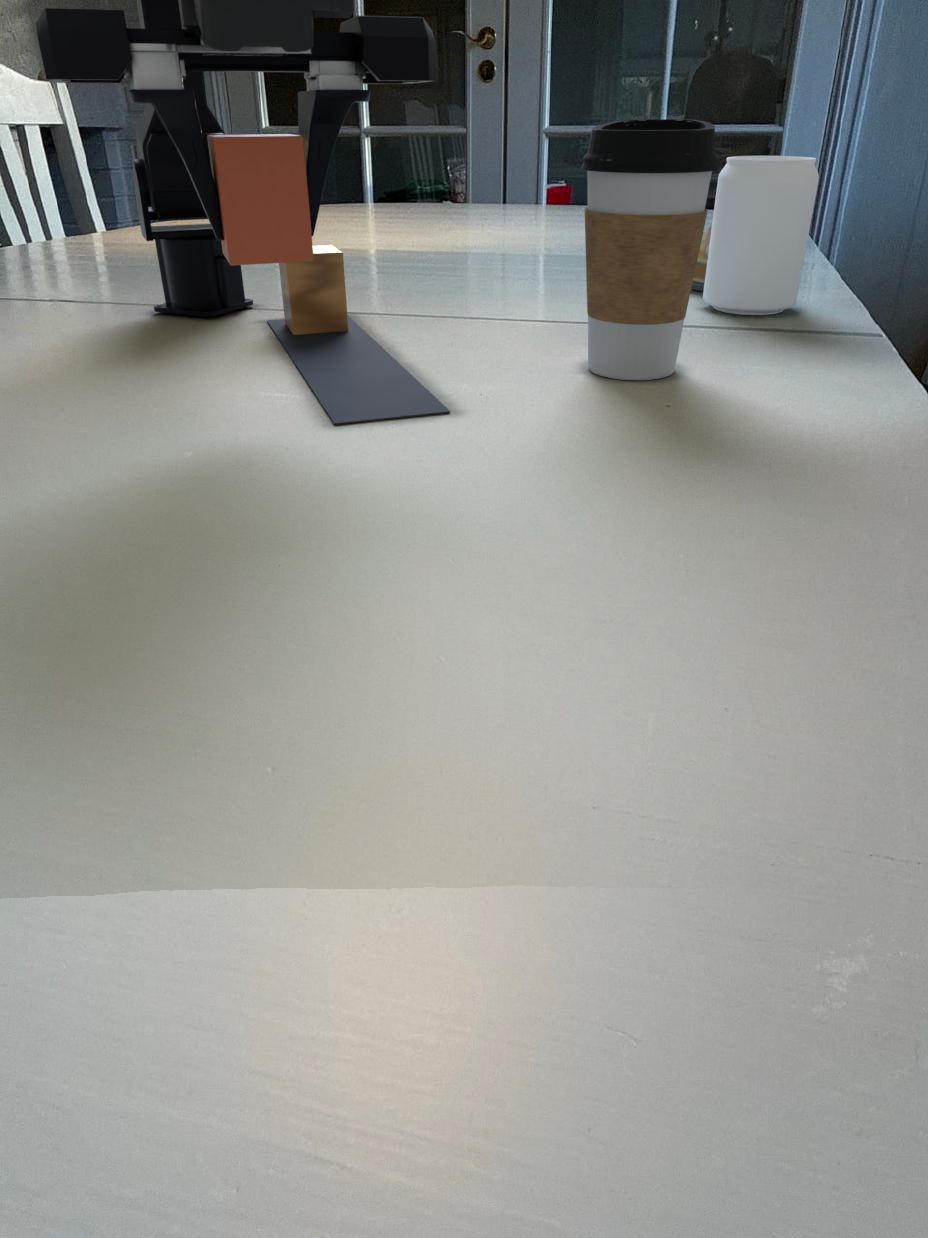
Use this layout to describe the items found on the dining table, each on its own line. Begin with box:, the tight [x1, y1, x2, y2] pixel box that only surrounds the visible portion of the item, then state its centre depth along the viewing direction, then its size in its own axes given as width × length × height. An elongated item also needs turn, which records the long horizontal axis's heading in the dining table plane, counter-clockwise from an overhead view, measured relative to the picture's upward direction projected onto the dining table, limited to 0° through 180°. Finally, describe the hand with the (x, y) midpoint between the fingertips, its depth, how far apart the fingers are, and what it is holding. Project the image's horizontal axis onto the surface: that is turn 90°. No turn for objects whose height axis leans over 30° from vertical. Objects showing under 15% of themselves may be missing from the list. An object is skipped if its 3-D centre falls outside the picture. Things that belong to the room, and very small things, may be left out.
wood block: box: [278, 244, 349, 335], centre depth 70 cm, size 4×4×6 cm
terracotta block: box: [207, 133, 314, 266], centre depth 47 cm, size 4×4×6 cm
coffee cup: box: [581, 118, 720, 381], centre depth 56 cm, size 8×8×15 cm
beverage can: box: [702, 155, 820, 316], centre depth 75 cm, size 8×8×12 cm
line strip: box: [266, 314, 451, 426], centre depth 63 cm, size 30×7×1 cm, turn 18°
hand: (264, 237), depth 48 cm, fingers closed on terracotta block, 4 cm apart
